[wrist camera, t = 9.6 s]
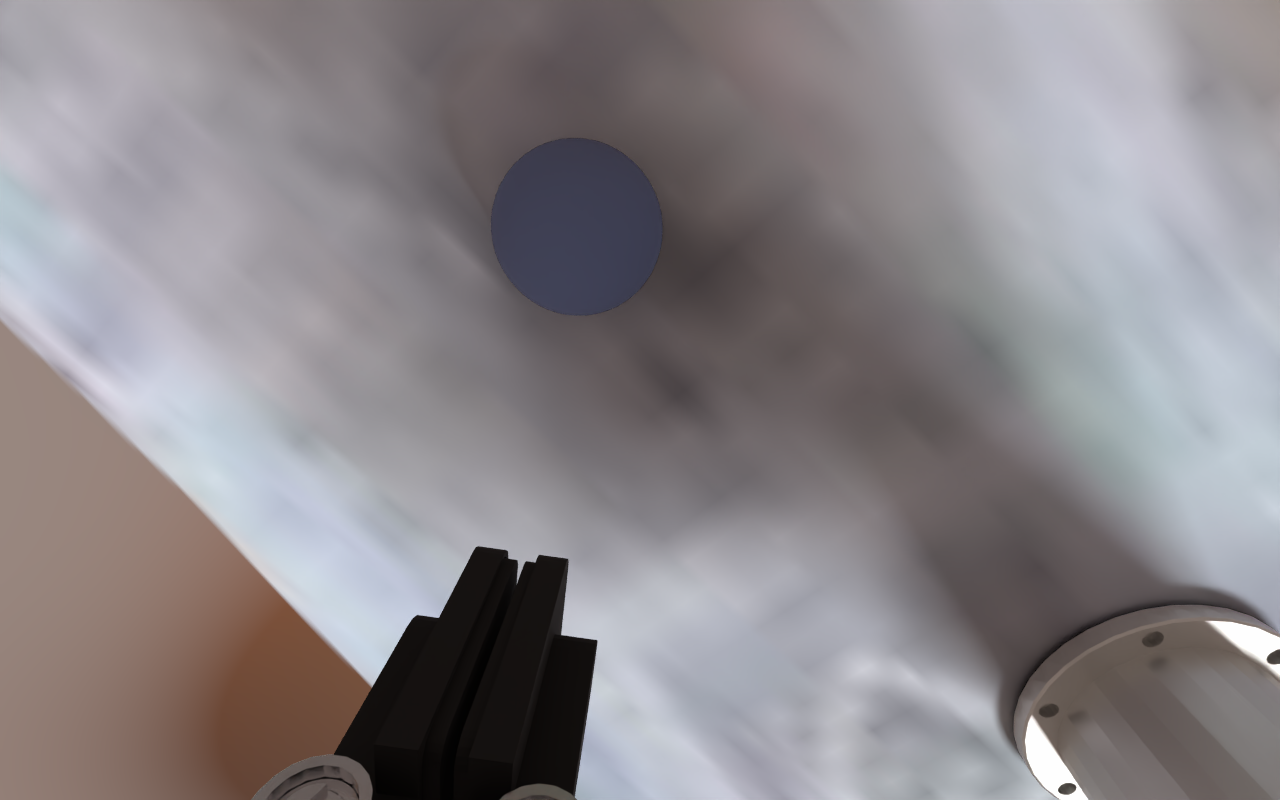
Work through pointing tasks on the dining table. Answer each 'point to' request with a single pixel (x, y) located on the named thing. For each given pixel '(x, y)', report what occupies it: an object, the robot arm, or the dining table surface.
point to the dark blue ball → (576, 226)
